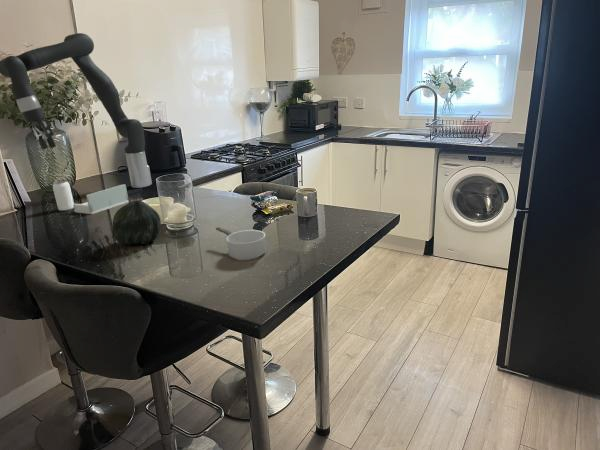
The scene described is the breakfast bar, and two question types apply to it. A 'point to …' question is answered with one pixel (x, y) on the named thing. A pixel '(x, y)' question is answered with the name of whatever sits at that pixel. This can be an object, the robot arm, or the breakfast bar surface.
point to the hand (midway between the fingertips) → (49, 148)
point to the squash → (136, 223)
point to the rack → (103, 200)
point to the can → (63, 195)
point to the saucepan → (245, 243)
